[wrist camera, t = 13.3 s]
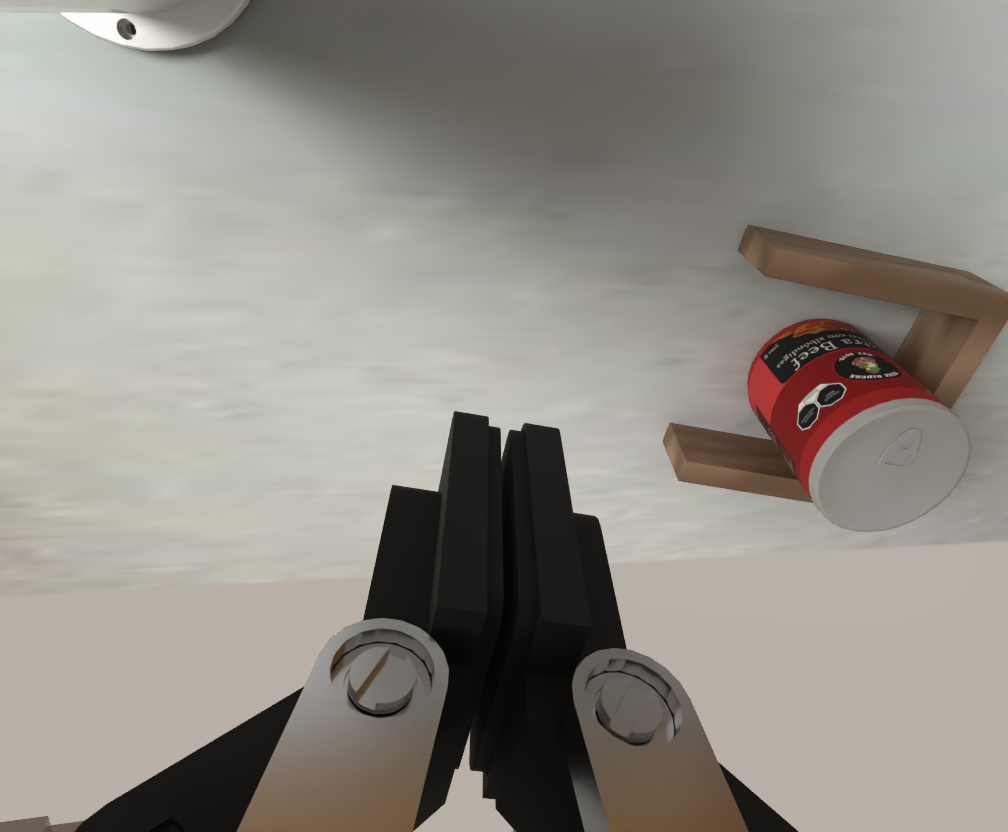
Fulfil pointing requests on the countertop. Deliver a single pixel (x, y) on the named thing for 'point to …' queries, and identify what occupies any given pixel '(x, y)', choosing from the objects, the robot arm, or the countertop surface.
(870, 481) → the canned food
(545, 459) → the robot arm
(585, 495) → the countertop surface
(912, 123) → the countertop surface
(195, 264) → the countertop surface
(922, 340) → the walnut holder
